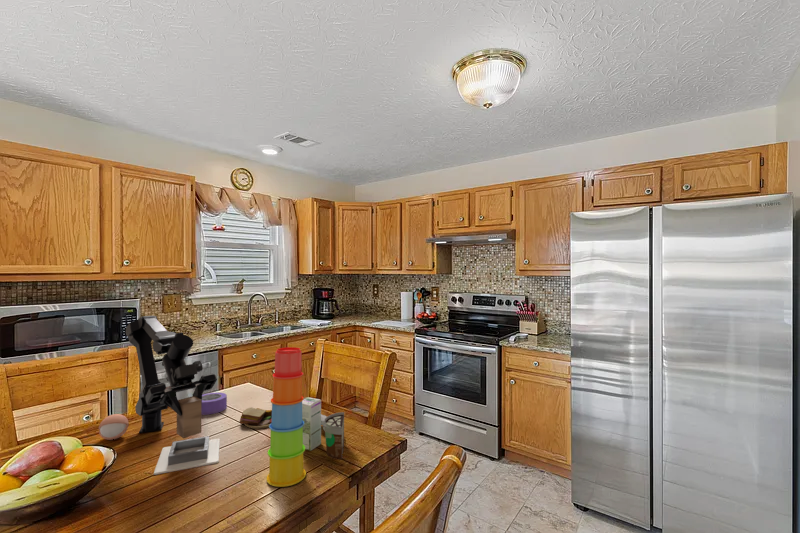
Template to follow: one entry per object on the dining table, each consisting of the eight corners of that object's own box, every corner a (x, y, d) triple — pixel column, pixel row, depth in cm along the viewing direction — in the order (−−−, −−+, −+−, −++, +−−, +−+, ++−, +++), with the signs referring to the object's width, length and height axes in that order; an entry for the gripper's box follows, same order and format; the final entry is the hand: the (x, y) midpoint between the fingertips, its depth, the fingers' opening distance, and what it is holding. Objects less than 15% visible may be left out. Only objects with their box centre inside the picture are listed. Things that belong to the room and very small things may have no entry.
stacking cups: (258, 478, 102) (259, 350, 102) (291, 463, 110) (291, 344, 110) (280, 493, 96) (280, 356, 96) (313, 476, 104) (313, 349, 104)
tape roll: (198, 405, 156) (198, 393, 156) (229, 403, 159) (229, 391, 159) (190, 416, 145) (190, 403, 145) (223, 413, 148) (223, 400, 148)
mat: (163, 449, 119) (163, 447, 119) (219, 439, 125) (219, 438, 125) (153, 474, 104) (153, 473, 104) (218, 462, 111) (218, 461, 111)
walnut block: (176, 433, 114) (176, 400, 114) (194, 428, 118) (194, 395, 118) (183, 438, 111) (183, 404, 111) (201, 432, 115) (201, 399, 115)
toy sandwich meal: (269, 431, 132) (269, 417, 132) (233, 428, 134) (233, 415, 134) (285, 417, 145) (285, 404, 145) (252, 415, 147) (252, 402, 147)
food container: (325, 443, 123) (325, 412, 123) (344, 442, 124) (344, 411, 124) (320, 462, 111) (320, 428, 111) (341, 461, 111) (341, 427, 111)
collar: (172, 449, 117) (172, 441, 117) (209, 443, 121) (209, 435, 121) (168, 465, 108) (168, 456, 108) (207, 458, 112) (207, 449, 112)
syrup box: (321, 443, 123) (322, 398, 123) (310, 451, 117) (310, 404, 117) (307, 440, 125) (307, 396, 125) (295, 447, 120) (295, 401, 120)
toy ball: (94, 445, 121) (94, 420, 121) (103, 435, 128) (103, 412, 128) (124, 441, 124) (124, 417, 124) (131, 431, 131) (131, 408, 131)
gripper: (149, 359, 110) (163, 406, 103) (214, 348, 124) (231, 389, 117) (139, 381, 115) (152, 427, 108) (203, 368, 129) (218, 408, 122)
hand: (191, 412), depth 114 cm, fingers closed on walnut block, 5 cm apart
